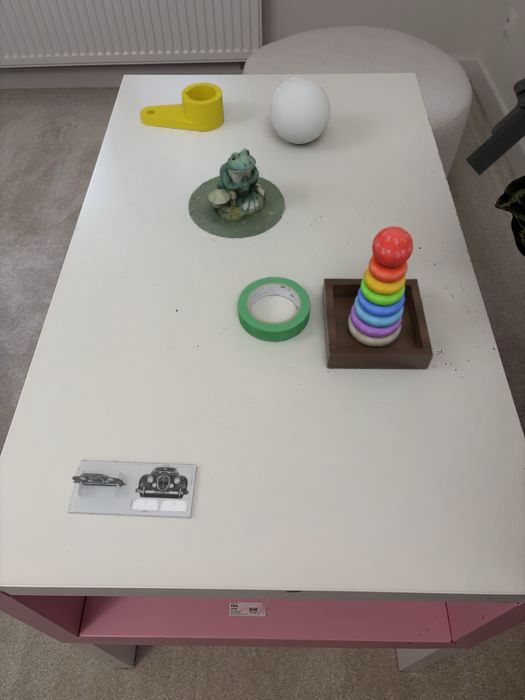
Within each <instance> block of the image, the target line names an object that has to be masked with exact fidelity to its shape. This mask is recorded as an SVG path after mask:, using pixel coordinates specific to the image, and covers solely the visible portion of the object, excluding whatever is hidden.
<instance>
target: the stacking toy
mask: <svg viewBox="0 0 525 700" xmlns="http://www.w3.org/2000/svg"><path fill="white" fill-rule="evenodd" d="M371 249H372V250H371V251H372V254H373V255H372V256H371V257H370V258H369V261H368V267H366V268H365V270H364V274H363V277H362V278H361V279H362V281H361V287H360V289H359V291H358V295H357V297H356V299H355V303H354V304H353V306H352V308H351V313H350V315H349V317H348V328H349V331H350V333H351V334H352V335H353V337H354V338H355V339H357V340H358V341H359V342H361V343H363V344H365V345H368V346H374V347H378V346H384V345H388V344H390V343H392V342H393V341H394V340H395V339H396V338H397V337H398V335H399V334H400V331H401V322H402V314H403V309H404V306H403V305H404V301H405V296H404V292H405V281H406V279H407V276H406V275H407V272H408V267H409V266H408V265H409V264H408V260H409V259H410V258H411V255H412V254H413V251H414V240H413V238H412V235H411V234H410V233H409V232H408V231H407V230H406V229H405V228H403V227H400V226H397V225H396V226H394V225H393V226H392V225H391V226H388V227H384V228H383V229H381V230H379V231H378V232H377V234H376V235H375V236H374V238H373V240H372V246H371Z"/></svg>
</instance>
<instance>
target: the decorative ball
mask: <svg viewBox="0 0 525 700" xmlns="http://www.w3.org/2000/svg"><path fill="white" fill-rule="evenodd" d="M269 117H270V122H271V125H272V127H273V129H274V131H275V132H276V134H277V135H278V136H279V137H280V138H281V139H282V140H285V141H287V142H288V143H290V144H294V145H295V144H296V145H303V144H307V143H310V142H313V141H314V140H316V139H317V138H319V137H320V136H321V135H322V134H323V133H324V131H325V129H326V128H327V126H328V123H329V121H330V117H331V103H330V99H329V96H328V93H327V91H326V90H325V89H324V88H323V86H322V85H321V84H320V83H318V82H317V81H315V80H314V79H312V78H308V77H303V76H291V77H289V78H286V79H285V80H284V81H283V83H282V84H280V85H279V86H278V87H277V88H276V90H274V93H273V95H272V97H271V101H270V106H269Z"/></svg>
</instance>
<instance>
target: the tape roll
mask: <svg viewBox="0 0 525 700" xmlns="http://www.w3.org/2000/svg"><path fill="white" fill-rule="evenodd" d="M267 296H281V297H284V298H286V299H288V300H290V301H291V302H292V303H293V304H294V305H295V306H296V308H297V311H296V312H295V313H294V315H292V316H290V317H289V318H287V319H285V320H281V321H275V322H273V321H272V322H271V321H266V320H263V319H260V318H258V317H257V316H256V315H255V314H254V313H253V311H251V309H252V307H253V305H254V304H255V303H256V302H257V301H259V300H260V299H262V298H265V297H267ZM310 311H311V300H310V296H309V294H308V292H307V291H306V290H305V289H304V288H303V286H302V285H300V284H299V283H298V282H296V281H295V280H292V279H289V278H286V277H281V276H267V277H262V278H258V279H257V280H254V281H251V282H250V283H249V284H248V285H246V286H245V288H243V290H241V292H240V294H239V297H238V300H237V313H238V319H239V323H240V326H242V328H243V329H244V331H245V332H247V333H248V334H249V335H250V336H252V337H254V338H256V339H258V340H261V341H266V342H282V341H287V340H290V339H292V338H294V337H296V336H297V335H299V334H300V333H302V332H303V331H304V329H305V328H306V326H307V325H308V322H309V320H310Z"/></svg>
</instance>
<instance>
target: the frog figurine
mask: <svg viewBox="0 0 525 700" xmlns="http://www.w3.org/2000/svg"><path fill="white" fill-rule="evenodd" d="M256 164H257V161H256V158H255V157H254V156H252V155H251V154H250V150H249V149H247V148H246V147H244V148H242V149H241V150H240V152H237V151H234V152H232V153H231V154H230V157H229V158H227V161H226V162H225V163H223V164H221V166H220V168H219V175H217V176H215V177H213V178H210V179H208V180H207V181H203V183H201V184H200V185H198V187H196V189H195V190H194V191H193V192H192V193H191V195H190V197H189V199H188V213H189V216H190V217H191V219H192V221H193V222H194V224H196V225H197V227H199V228H200V229H202V230H203V231H205V232H207V233H209V234H212V235H215V236H218V237H221V238H222V237H223V238H230V239H232V238H233V239H239V238H240V239H241V238H247V237H248V238H249V237H252V236H257V235H259V234H262V233H264V232H266V231H267V230H269V229H271V228H272V227H274V226H275V225H276V224H277V223H278V222H279V221H280V219H281V218H282V216H283V214H284V213H285V212H284V211H285V207H286V202H285V198H284V194H283V193H282V192H281V190H280V189H279V188H278V187H277V185H275V184H274V183H273V182H271V181H270V180H268V179H266V178H265V177H262V176H260V171H259V170H258V167H257V166H256Z"/></svg>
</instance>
